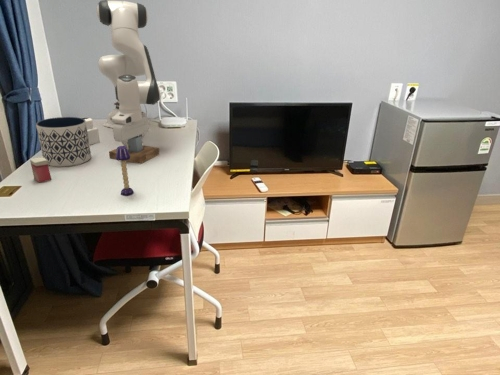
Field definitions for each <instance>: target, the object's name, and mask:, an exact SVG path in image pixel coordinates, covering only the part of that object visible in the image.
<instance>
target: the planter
mask: <svg viewBox="0 0 500 375" xmlns="http://www.w3.org/2000/svg"><path fill="white" fill-rule="evenodd" d="M82 118H83V117H75V116H62V117H61V116H58V117H52V118H45V119H41V120H39V121H37V122H35V127H36V131H37V132H36V133H37V135H38V136H37V137H38V140H39V142H38V143H39V145H40V150H41V155H42V157H43V158H45V159H46V160H47V161H48V166H49V167H50V166H51V167H55V168H56V167H60V168H61V167H62V168H63V167H71V166H72V167H73V166H78V165H81V164H84V163H87V162H88V161H89V160H90V159H91V158H92V152H91V145H89V138H88V132H87V126H86V121H85V120H84V119H82Z"/></svg>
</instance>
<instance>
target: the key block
mask: <svg viewBox="0 0 500 375" xmlns="http://www.w3.org/2000/svg"><path fill="white" fill-rule="evenodd" d="M142 141H143V142H144V138H143V139H142V138H141V136H139V135H138V136H136V137H133V138H131V139H128V142H127V144H128V145H130V149H128V151H129V152H135V153H138V152H140V151H142V150H143V143H142Z"/></svg>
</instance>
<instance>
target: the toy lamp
mask: <svg viewBox="0 0 500 375" xmlns="http://www.w3.org/2000/svg"><path fill="white" fill-rule="evenodd" d="M116 149H117V151H116V159H115V160H117V161H120V166H121V175H122V181H123V188H122V189H121V191H120V195H122V196H124V197H126V196H131V195H133V194H134V193H135V192H134V189H133V188H131V187H130V184H129V183H130V181H129V175H128V173H129V172H128V168H127V161H126V160H128V159H130V154H129V152H128V149H127V147H126V146H124V145H119V146H117V147H116Z"/></svg>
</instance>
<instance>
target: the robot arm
mask: <svg viewBox="0 0 500 375" xmlns="http://www.w3.org/2000/svg"><path fill="white" fill-rule="evenodd" d="M97 4H98V5H97V7H96V14H97V17H98V20H99V22H100V23H101V24H102V25H103V26H104V25H105V26H108V27H109V26H110V32H111V33H110V34H111V45H112V46H113V48H114V49H115V50H116V51H117V52H119V53H121V54H108V55H103V56H100V58H99V60H98V63H97V64H98V69H99V72H100V73H101V74H102V75H103V76H105V77H106V78H108V79H109V80H110V81H111V83H112V85H113V86H114V91H115V99H116V100H117V101H115V102H113V106H115V109H113V110H112V111H110V112H109V113H108V114H107V117H106V118H107V119H106V122H104V123H103V126H102V127H105V128H106V127H107V128H111V129H112V133H113V134H112V135H113V139H114V141H115V142H119V143H121V144H122V146H126V147H127V149H130V145H128V144H127V142H128V139H131V138H133V137H136V136H141V138H142V139H143V141H142V144H144V136H145V134H146V133H149V132H150V124H149V119H148V117H147V114H146V113H145V112H144V111H142V107H141V105H151V106H152V105H156V104H157V103H158V102H159V101H160V100H161V90H160V86H159V84H158V82H157V79H156V75H155V70H154V67H153V63H152V59H151V55H150V52H149V49H148V47H147V45H145V44H144V43H142V41H141V39H140V37H139V36H140V34H139V29H144V28H145V27H146V26H147V23H148V19H149V14H148V10H147V8H146V7H145V5H144V4H141V3H138V2H137V3H136V2H131V1H127V0H100V1H98V3H97ZM140 76H145V78H146V80H145V81H144V80H143V81H138V78H137V77H140Z"/></svg>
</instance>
